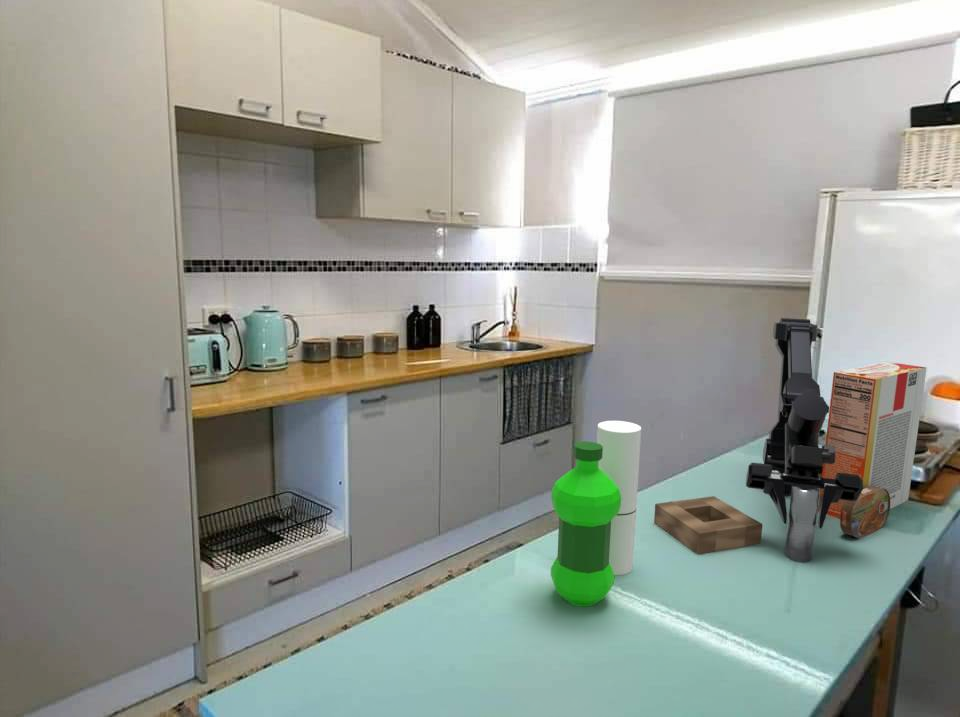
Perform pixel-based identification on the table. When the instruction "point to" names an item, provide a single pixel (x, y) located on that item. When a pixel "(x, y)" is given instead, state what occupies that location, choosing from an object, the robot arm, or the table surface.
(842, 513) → the tin
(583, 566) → the plastic bottle
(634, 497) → the cylindrical container
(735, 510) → the collar block
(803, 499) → the grey glossy round cylinder
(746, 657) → the table surface
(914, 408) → the pasta box
